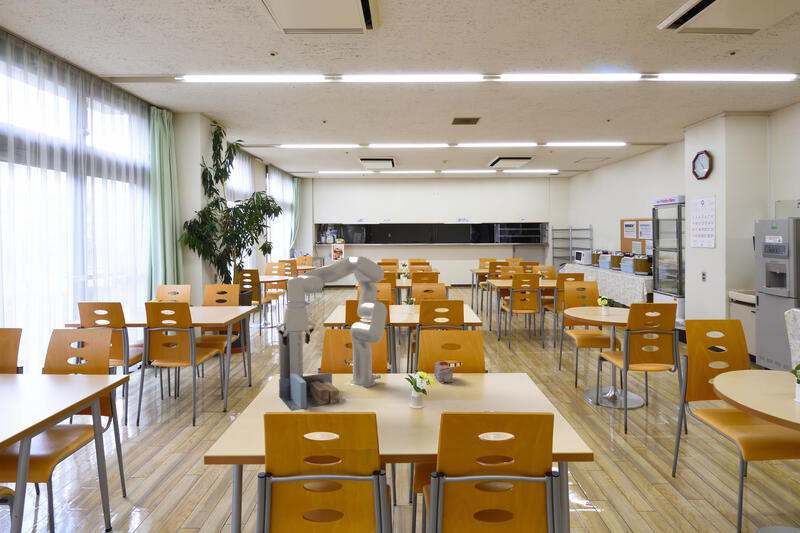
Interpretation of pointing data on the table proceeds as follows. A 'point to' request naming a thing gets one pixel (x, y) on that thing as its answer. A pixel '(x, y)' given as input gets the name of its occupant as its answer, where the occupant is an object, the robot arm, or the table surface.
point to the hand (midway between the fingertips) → (296, 344)
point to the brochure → (291, 355)
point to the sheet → (298, 390)
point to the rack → (310, 402)
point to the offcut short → (332, 392)
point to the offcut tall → (319, 392)
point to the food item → (443, 372)
